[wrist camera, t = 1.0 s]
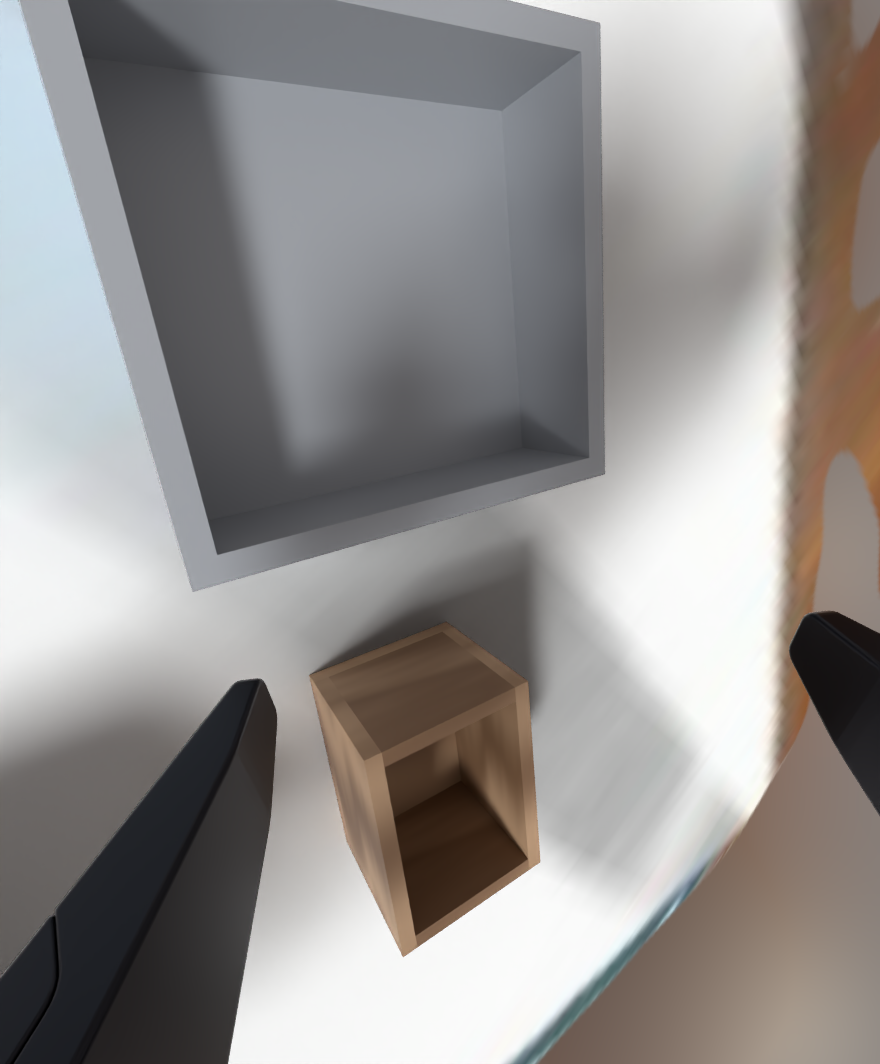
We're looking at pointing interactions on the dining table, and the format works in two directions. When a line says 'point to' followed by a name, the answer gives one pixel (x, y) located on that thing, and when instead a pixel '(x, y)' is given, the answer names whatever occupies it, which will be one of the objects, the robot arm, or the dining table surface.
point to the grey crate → (339, 255)
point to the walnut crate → (431, 775)
